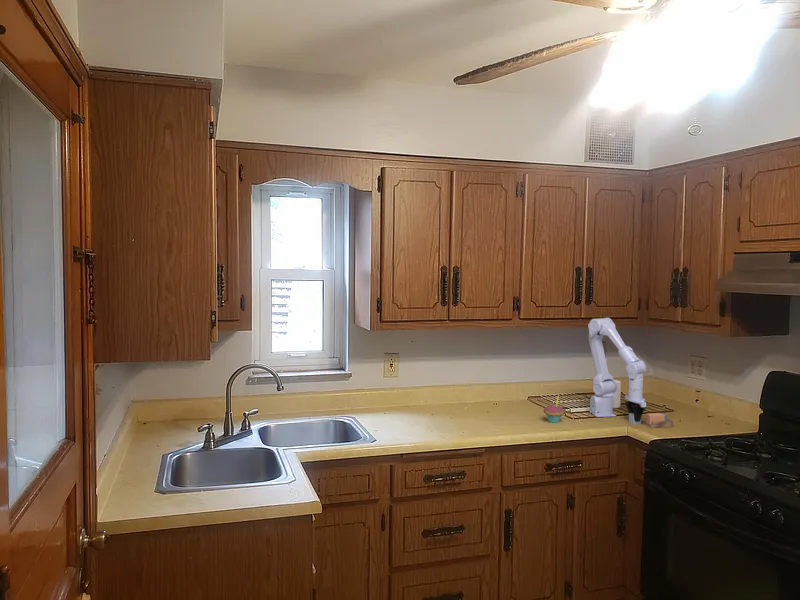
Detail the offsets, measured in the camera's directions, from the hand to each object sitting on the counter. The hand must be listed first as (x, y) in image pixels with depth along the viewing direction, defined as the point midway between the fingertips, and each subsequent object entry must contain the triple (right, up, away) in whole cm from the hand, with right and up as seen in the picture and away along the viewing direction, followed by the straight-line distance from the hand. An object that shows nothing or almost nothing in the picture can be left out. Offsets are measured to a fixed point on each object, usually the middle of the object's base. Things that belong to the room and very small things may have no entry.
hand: (634, 419), depth 255 cm
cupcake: (-35, -2, +3) cm, 35 cm away
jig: (+8, -2, -3) cm, 9 cm away
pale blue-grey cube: (0, -2, 0) cm, 2 cm away
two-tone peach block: (+8, -1, -3) cm, 9 cm away
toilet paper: (0, 0, +31) cm, 31 cm away
